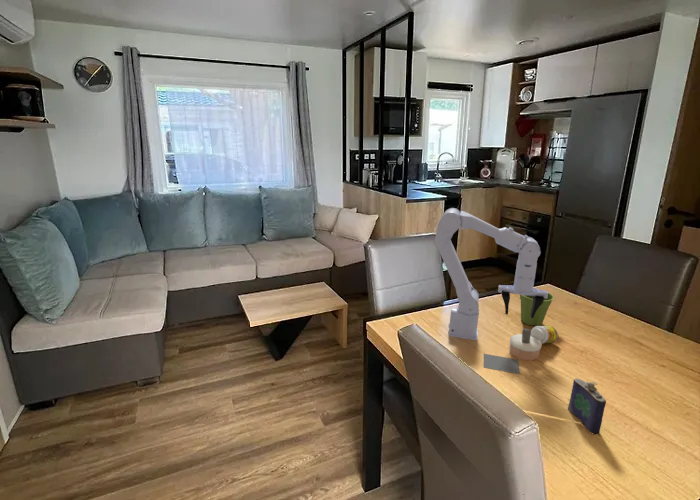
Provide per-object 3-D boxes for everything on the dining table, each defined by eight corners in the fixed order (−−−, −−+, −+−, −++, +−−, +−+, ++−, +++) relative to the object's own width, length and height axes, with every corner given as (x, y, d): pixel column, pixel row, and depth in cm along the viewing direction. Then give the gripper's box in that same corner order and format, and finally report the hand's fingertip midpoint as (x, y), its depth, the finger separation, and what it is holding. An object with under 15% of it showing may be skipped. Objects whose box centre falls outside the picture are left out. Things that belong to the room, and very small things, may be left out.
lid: (510, 349, 117) (511, 335, 116) (509, 334, 125) (510, 321, 124) (542, 353, 114) (544, 339, 113) (540, 338, 122) (541, 325, 121)
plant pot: (547, 332, 135) (552, 303, 132) (511, 324, 141) (516, 295, 137) (550, 319, 144) (555, 292, 141) (517, 312, 150) (521, 285, 147)
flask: (565, 408, 97) (572, 371, 94) (575, 407, 97) (583, 371, 94) (592, 435, 88) (601, 396, 85) (603, 434, 88) (613, 395, 85)
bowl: (509, 357, 119) (511, 348, 118) (508, 344, 126) (509, 335, 125) (539, 363, 116) (541, 353, 115) (536, 349, 124) (537, 339, 123)
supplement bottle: (555, 345, 126) (540, 347, 120) (539, 338, 131) (524, 339, 124) (561, 330, 126) (547, 330, 119) (544, 322, 130) (530, 323, 123)
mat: (483, 368, 113) (483, 367, 113) (483, 354, 120) (483, 353, 120) (520, 375, 110) (520, 374, 110) (517, 360, 117) (518, 359, 117)
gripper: (501, 277, 120) (495, 316, 124) (552, 283, 116) (545, 323, 120) (500, 270, 127) (495, 307, 130) (548, 275, 122) (542, 314, 126)
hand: (519, 314), depth 125 cm, fingers open, 7 cm apart
